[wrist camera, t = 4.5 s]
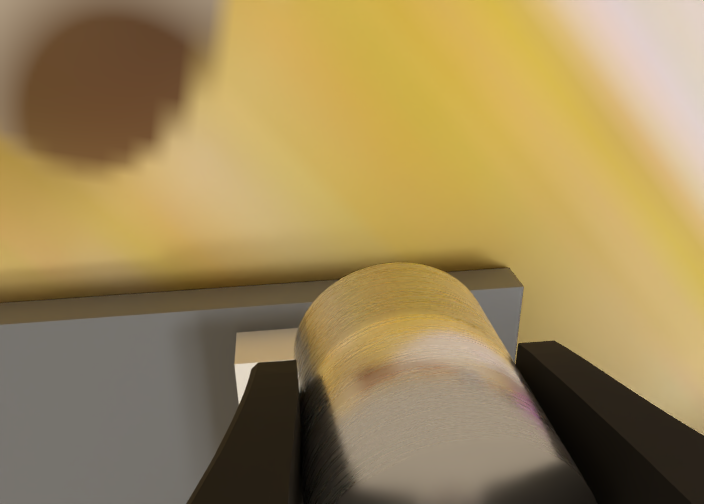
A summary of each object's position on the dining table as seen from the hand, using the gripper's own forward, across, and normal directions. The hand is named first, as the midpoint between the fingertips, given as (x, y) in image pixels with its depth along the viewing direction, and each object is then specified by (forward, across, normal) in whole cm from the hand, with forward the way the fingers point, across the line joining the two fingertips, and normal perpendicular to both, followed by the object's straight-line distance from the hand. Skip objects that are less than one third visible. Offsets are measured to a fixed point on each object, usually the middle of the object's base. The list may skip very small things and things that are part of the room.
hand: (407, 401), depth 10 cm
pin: (+1, 0, 0) cm, 1 cm away
